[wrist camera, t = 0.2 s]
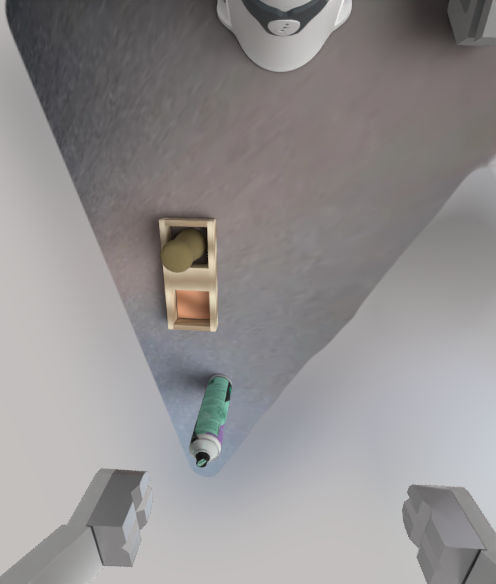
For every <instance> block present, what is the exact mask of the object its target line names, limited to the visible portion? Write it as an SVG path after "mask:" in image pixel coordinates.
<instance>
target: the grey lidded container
mask: <svg viewBox="0 0 496 584" xmlns="http://www.w3.org/2000/svg"><path fill="white" fill-rule="evenodd" d="M447 13H448V16H449V20H450V23H451V26H452V30H453V33H454V37H455V40H456V44H457V45H469V46H490V47H496V0H449V5H448V9H447Z"/></svg>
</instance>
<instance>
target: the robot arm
mask: <svg viewBox="0 0 496 584" xmlns="http://www.w3.org/2000/svg"><path fill="white" fill-rule="evenodd" d="M351 8H352V0H345V1H344V0H226V3H225V2H224V0H218V2H217V15H218V18H219V20H220V21H221V22H222V23H223V24H224V25H225V26H226V27H227V28H228V29H229V30H231V31H232V32H233V33H234V34H235V36H236V38H237V40H238V41H239V43H240V45H241V47H242V49H243V50H244V52H245V53H246V55H247V56H248V57H249V58H250V59H251V60H252V61H253V62H254V63H256V64H257V65H259V66H260V67H262V68H264V69H267V70H270V71H275V72H285V71H290V70H294V69H296V68H299V67H301V66H302V65H304V64H306V63H307V62H308V61H310V60H311V59H312V58H313V57H314V56H315V55H316V54H317V53H318V51H319V50H320V49H321V47H322V46H323V44H324V43H325V41H326V39H327V38H328V36H329V35H330V34H331V33H332V31H334V30H335V29H336V28H338V27H339V26H340V25H342V24H343V23H344V22H345V21H346V20H347V19H348V17H349V15H350V12H351ZM149 481H150V476H149V472H147V471H132V470H118V469H100V470H99V471H98V472H97V473H96V474H95V476H94V478H93V480H92V482H91V483H90V485H89V487H88V489H87V490H86V492H85V494H84V496H83V497H82V499H81V501H80V503H79V505H78V506H77V508H76V510H75V512H74V513H73V515H72V517H71V519H70V520H69V522H68V524H67V525H61V526H60V527H59V528H58V529H56V530H55V531H54V532H53V533H52V534H50V535H49V536H48V537H47V538H46V539H44V540H43V541H42V542H41V543H40V544H38V545H37V546H36V547H35V548H34V549H33V550H31V551H30V552H29V553H28V554H26V555H25V556H24V557H23V558H22V559H20V560H19V561H18V562H17V563H16V564H15V565H13V566H12V567H11V568H10V569H9V570H7V571H6V572H5V573H4V574H3V575H2V576H0V584H90V583H91V582H92V581H93V579H94V578H95V577H96V576H97V575H98V574H99V572H100V571H101V570H102V569H103V566H124V567H132V566H133V563H134V560H135V557H136V554H137V551H138V548H139V545H140V542H141V536H140V530H141V529H142V527H144V526H145V525H146V523H147V522H148V518H149V515H150V511H151V506H152V501H153V492H152V488H151V487H150V486H149V485H148V483H149ZM407 493H408V495H409V499H408V500H406V501H405V502H404V505H403V509H402V512H403V521H404V525H405V529H406V531H407V534H408V537H409V539H410V540H411V541H412V542H413V543H414V544H415V545H416V546H417V547H418V553H417V559H418V562H419V564H420V567H421V569H422V572H423V574H424V576H425V579H426V582H427V584H496V533H495V531H494V530H493V528H492V527H491V525H490V524H489V522H488V521H487V519H486V518H485V516H484V515H483V513H482V511H481V510H480V508H479V507H478V505H477V504H476V502H475V501H474V499H473V498H472V496H471V495H470V493H469V492H468V491H467V490H466V489H465V488H463V487H447V486H436V485H411V486H409V488H408V491H407Z"/></svg>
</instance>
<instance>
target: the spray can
mask: <svg viewBox="0 0 496 584" xmlns="http://www.w3.org/2000/svg"><path fill="white" fill-rule="evenodd" d="M231 389H232V382H231V380H230V379H229V378H228V377H227V376H225V375H222V374H217V375H214V376H212V377H211V378H210V379H209V381H208V384H207V388H206V391H205V395H204V398H203V401H202V405H201V408H200V411H199V415H198V418H197V421H196V425H195V428H194V431H193V435H192V438H191V441H190V447H189V452H190V454H191V456H192V457H193V458H195V459H196V460H197V462H196V464H197V466H199V467H205V466H206V464H207V462H211V461H214V460H215V459H217V458H218V456H219V453H220V450H221V445H222V439H223V434H224V428H225V422H226V417H227V411H228V406H229V400H230V395H231Z"/></svg>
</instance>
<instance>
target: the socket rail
mask: <svg viewBox="0 0 496 584" xmlns="http://www.w3.org/2000/svg"><path fill="white" fill-rule="evenodd" d="M171 226H189V227H207V231H208V264H198V263H192V265H191V266H190V267H189V268H188V269H187V270H186V271H184V272H179V273H175V272H171V271H169V270H167V269H166V268H165V267H164V266H163V272H164V283H165V295H166V306H167V317H168V328H169V329H178V330H197V331H216V329H217V326H218V301H217V249H216V219H198V218H162V219H159V227H160V239H161V250H162V247H163V246H164V245H165V244H166V243H168V242H169V241H172V239H171ZM175 290H176V292H175ZM176 295H177V305H176ZM177 309H178V318H177ZM185 318H194V319H185ZM205 319H210V320H205Z"/></svg>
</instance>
